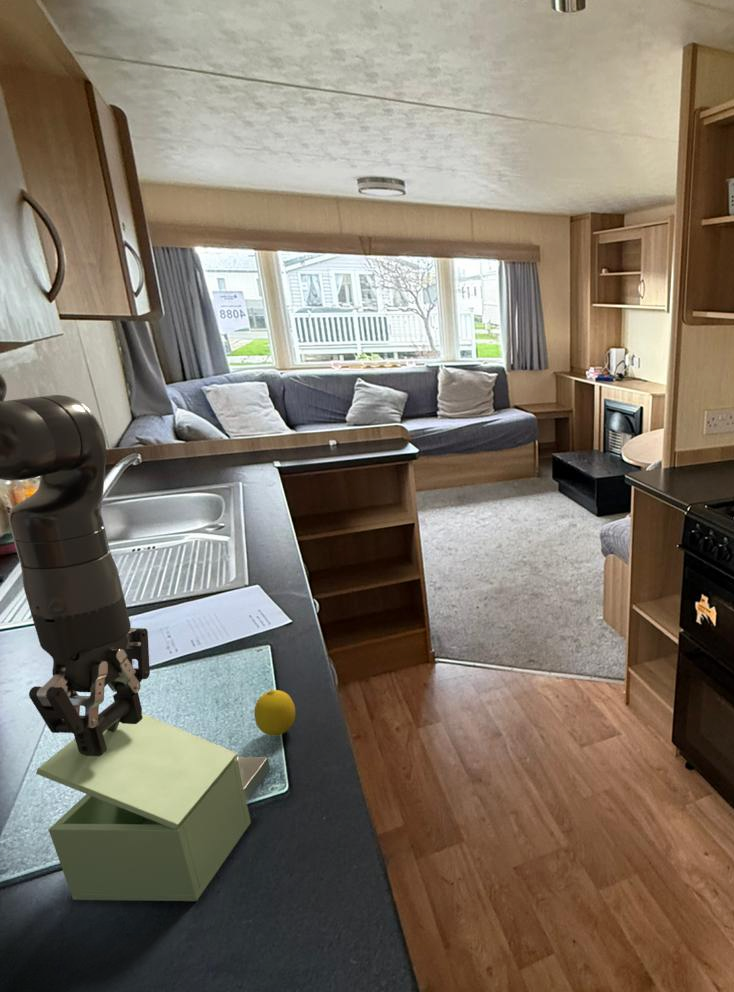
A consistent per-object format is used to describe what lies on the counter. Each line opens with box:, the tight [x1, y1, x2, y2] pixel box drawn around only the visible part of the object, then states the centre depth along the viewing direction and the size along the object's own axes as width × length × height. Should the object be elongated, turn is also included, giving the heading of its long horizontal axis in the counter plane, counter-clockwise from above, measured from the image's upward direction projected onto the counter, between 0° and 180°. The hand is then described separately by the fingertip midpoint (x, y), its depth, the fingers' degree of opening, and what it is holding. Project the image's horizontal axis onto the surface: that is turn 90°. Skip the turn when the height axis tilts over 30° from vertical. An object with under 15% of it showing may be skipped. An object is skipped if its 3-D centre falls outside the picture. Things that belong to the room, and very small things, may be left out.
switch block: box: [229, 749, 271, 803], centre depth 88 cm, size 11×8×4 cm
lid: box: [36, 699, 238, 829], centre depth 72 cm, size 15×12×5 cm
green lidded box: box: [48, 759, 252, 902], centre depth 76 cm, size 14×12×10 cm
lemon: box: [254, 689, 296, 737], centre depth 99 cm, size 6×6×8 cm
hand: (113, 736), depth 72 cm, fingers closed on lid, 5 cm apart
